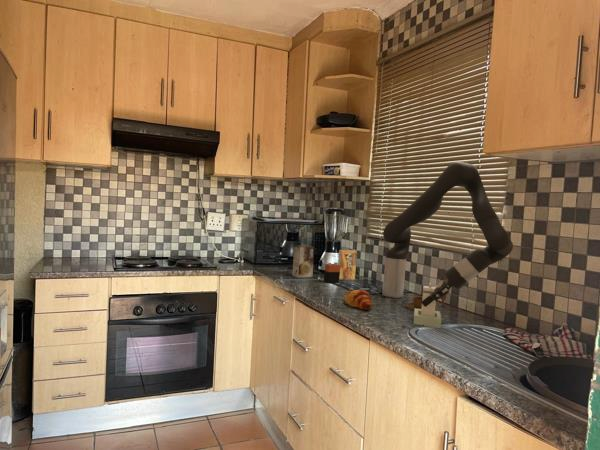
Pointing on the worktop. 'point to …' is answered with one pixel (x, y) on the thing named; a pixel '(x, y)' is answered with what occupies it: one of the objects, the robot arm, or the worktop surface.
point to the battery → (332, 273)
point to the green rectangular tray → (427, 319)
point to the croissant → (358, 299)
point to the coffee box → (303, 261)
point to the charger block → (430, 308)
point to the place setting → (418, 303)
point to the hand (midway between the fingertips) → (423, 302)
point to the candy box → (347, 264)
